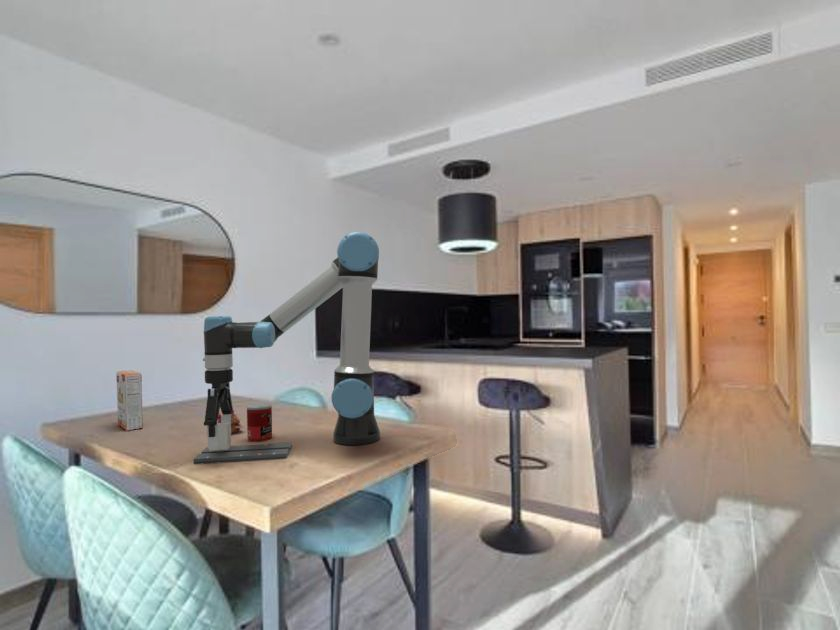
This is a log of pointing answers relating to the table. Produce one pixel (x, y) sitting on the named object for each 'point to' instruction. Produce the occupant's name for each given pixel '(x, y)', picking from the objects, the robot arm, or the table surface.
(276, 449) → the fader panel
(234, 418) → the flower
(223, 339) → the robot arm
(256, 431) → the canned food
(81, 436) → the table surface
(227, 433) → the fader
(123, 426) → the cracker box
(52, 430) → the table surface
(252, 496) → the table surface
